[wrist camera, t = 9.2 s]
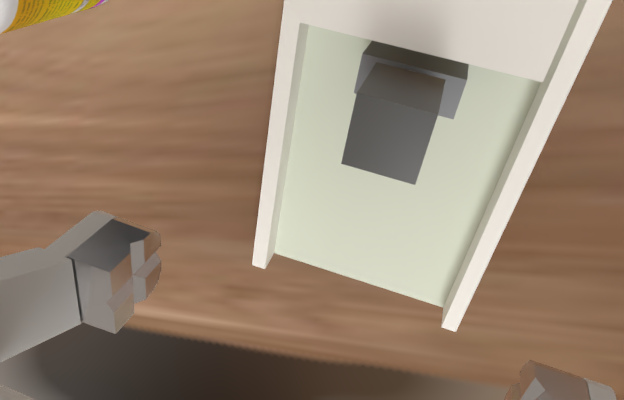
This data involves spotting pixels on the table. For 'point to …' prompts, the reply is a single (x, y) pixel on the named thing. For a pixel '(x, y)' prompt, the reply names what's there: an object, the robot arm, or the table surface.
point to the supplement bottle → (38, 11)
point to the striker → (399, 108)
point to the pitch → (441, 149)
